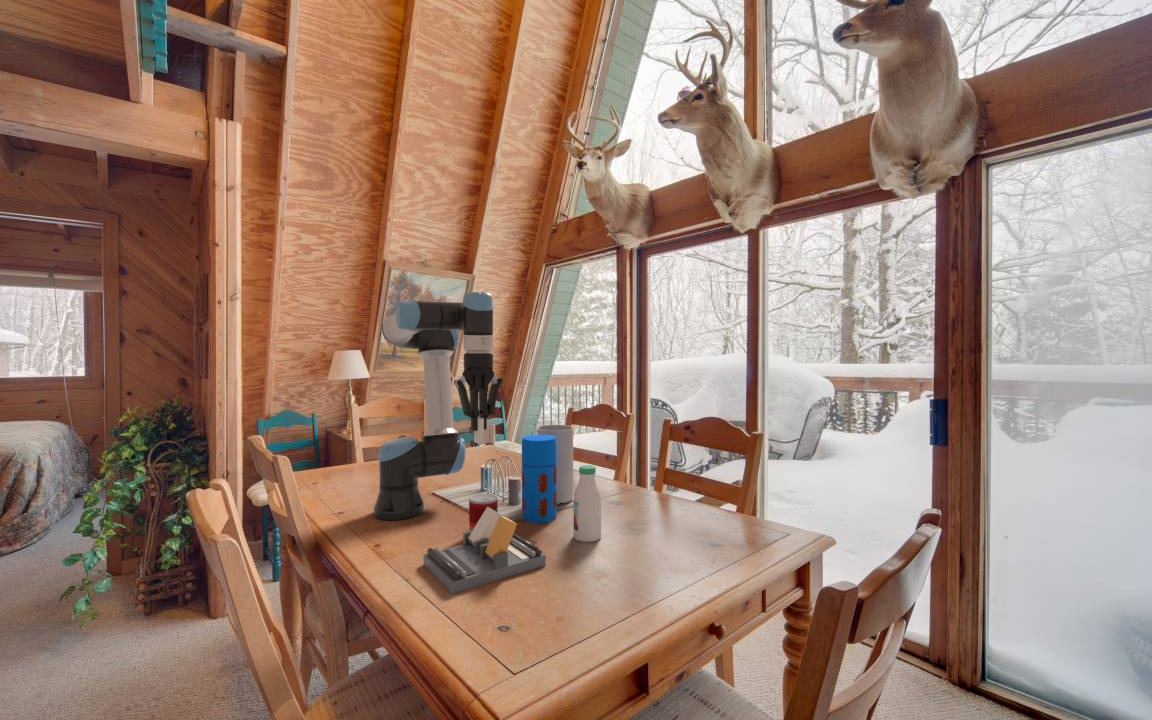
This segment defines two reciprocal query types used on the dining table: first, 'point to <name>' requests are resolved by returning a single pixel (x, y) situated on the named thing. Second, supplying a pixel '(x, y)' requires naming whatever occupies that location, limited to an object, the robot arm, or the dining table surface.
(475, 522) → the canned food
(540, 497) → the thermos
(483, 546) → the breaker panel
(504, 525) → the block
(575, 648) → the dining table surface
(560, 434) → the cylinder vase
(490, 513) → the block
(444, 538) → the dining table surface
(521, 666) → the dining table surface
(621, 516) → the dining table surface
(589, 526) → the milk bottle
